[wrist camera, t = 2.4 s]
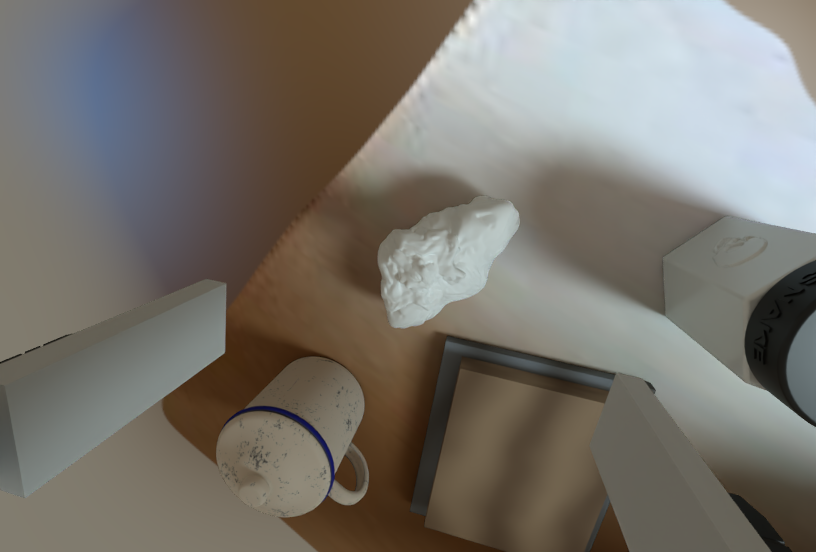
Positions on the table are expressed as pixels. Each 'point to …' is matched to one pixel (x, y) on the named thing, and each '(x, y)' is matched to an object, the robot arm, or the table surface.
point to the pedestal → (513, 451)
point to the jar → (751, 304)
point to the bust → (442, 258)
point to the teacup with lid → (295, 440)
